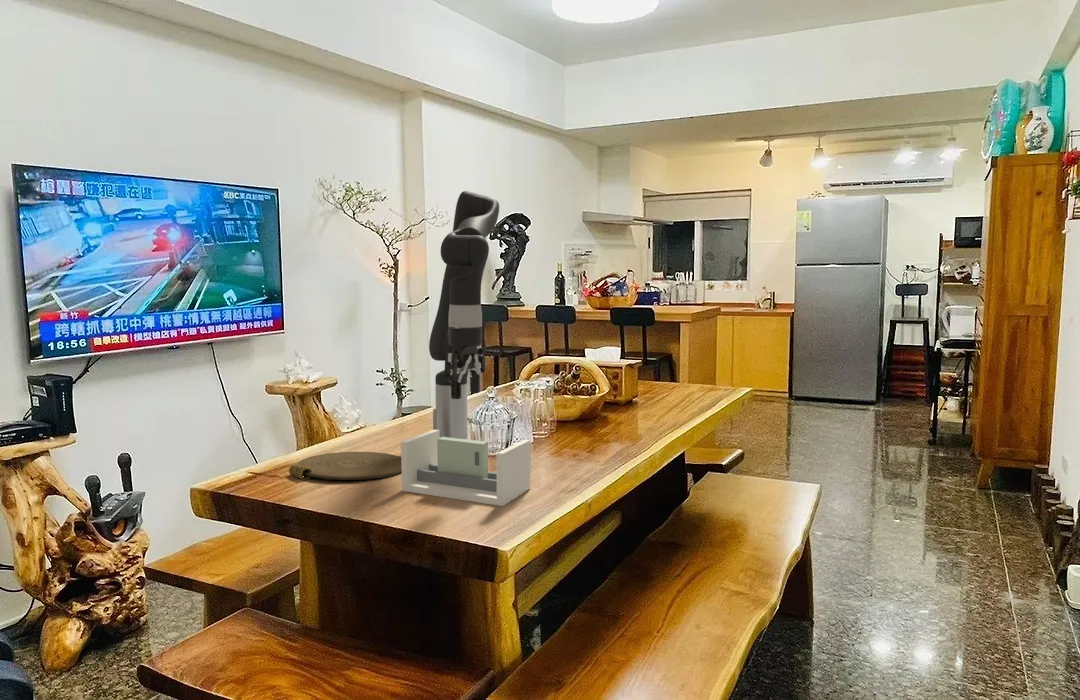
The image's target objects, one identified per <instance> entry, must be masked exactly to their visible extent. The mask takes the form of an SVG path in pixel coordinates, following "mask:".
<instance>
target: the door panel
mask: <svg viewBox="0 0 1080 700" xmlns="http://www.w3.org/2000/svg"><path fill="white" fill-rule="evenodd" d="M437 462H438V472H444V473H451V474H458V475H466V476H473V477H480V478H488V472H489V442H488V441H482V440H475V439H468V438H467V439H458V438H449V437H441V438H438V439H437Z"/></svg>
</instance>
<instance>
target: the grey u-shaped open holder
mask: <svg viewBox="0 0 1080 700" xmlns="http://www.w3.org/2000/svg"><path fill="white" fill-rule="evenodd" d="M438 438H440V430H433V429H431V430H430V431H426V432H423V433H422V434H418V435H415V436H413V437H410V438H407V439H405V440H402V441H400V448H401V449H400V451H401V452H400V453H401V454H400V455H401V456H400V457H401V469H402V472H401V491H402V492H407V493H413V494H414V493H415V494H420V495H427V496H434V497H441V498H448V499H453V500H461V501H466V502H467V501H468V502H475V503H479V504H486V505H492V506H493V505H494V506H500V507H504V506H505V505H507V504H509V503H510V502H512V501H513V500H515V499H516V498H518V497H519V495H520V496H521V495H523V494H524V493H526V492H527V491H526V490H527V489H529V488H530V489H531V443H532V442H531V439H522V440H520V441H519V442H516V443H515V444H514V443H513V445H511V446H509V447H506V448H505V449H502V450H501V451H498V452H496V472H494V471H488V478H480V477H473V476H466V475H458V474H451V473H444V472H438V462H437V439H438ZM530 489H529V490H530ZM525 491H526V492H525ZM523 492H524V493H523ZM522 493H523V494H522ZM511 500H512V501H511Z"/></svg>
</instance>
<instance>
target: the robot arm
mask: <svg viewBox="0 0 1080 700" xmlns="http://www.w3.org/2000/svg"><path fill="white" fill-rule="evenodd" d="M499 213H500V203H499V200H498V199H496V198H494V197H491V196H489V195H485V194H481V193H478V192H477V193H476V192H473V191H467V190H463V191H461V193H460V194H459V196H458V198H457V201H456V205H455V211H454V218H453V226H452V231H451V232H449V233H448V234H447V235H446V236H445V237H444V239H443V240H442V242H441V246H440V258H441V260H442V261H443V262H444V264H445V265H446V266H445V270H444V274H443V279H442V284H441V285H442V286H441V292H440V299H439V303H438V308H437V310H436V311H437V312H436V316H435V319H434V322H433V324H432V325H433V326H432V329H431V333H430V337H429V341H428V343H429V344H428V348H429V349H428V350H429V351H428V352H429V355H430V358H431V359H432V360H434V361H437V362H438V361H440V362H444V369H443V370H442V371H441V370H440V371H439V372H438V373H436V374H435V380H434V381H435V383H434V384H435V408H433V410H432V427H433V428H432V430H440V438H441V437H449V438H458V439H467V440H468V435H469V433H468V375H470V377H469V390H470V391H469V392H470V393H471V394H480V390H481V377H482V374H485V372H486V350H485V349H486V348H484V347H481V346H482V345H483V311H482V293H481V292H482V283H483V282H482V280H483V276H484V271H485V268H486V264H487V262H488V258H489V254H490V253H489V251H490V247H489V243H488V240H487V239H486V238H487V237H488V236H489V235H490V234H491V233H492V232H493V230H494V229H495V227H496V225H497V223H498V218H499Z"/></svg>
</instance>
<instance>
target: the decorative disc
mask: <svg viewBox="0 0 1080 700" xmlns="http://www.w3.org/2000/svg"><path fill="white" fill-rule="evenodd" d="M288 473H289V474H290V476H293V475H294V476H293V477H295V476H296V477H297V478H299V479H300V480H303V479H306V480H309V479H310V478H311V477H312V478H313V477H314V478H319V479H323V480H334V481H335V480H336V481H337V480H339V481H355V480H356V481H359V480H360V481H363V480H372V479H374V480H375V479H380V478H387V477H392V476H396V475H399V474H402V469H401V456H399V455H395V454H391V453H387V452H376V451H374V452H373V451H341V452H340V451H339V452H328V453H323V454H318V455H312V456H309V457H307V458H304V459H301V460H300V461H298V462H297V463H293V464H291V466H289V469H288ZM303 476H304V477H303ZM296 477H295V478H296ZM308 478H309V479H308Z"/></svg>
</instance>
